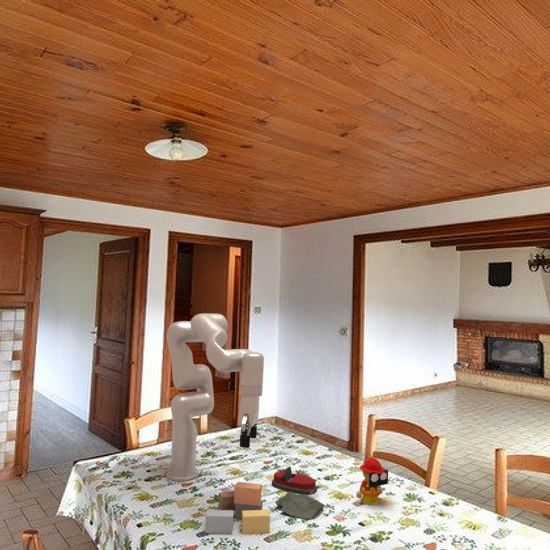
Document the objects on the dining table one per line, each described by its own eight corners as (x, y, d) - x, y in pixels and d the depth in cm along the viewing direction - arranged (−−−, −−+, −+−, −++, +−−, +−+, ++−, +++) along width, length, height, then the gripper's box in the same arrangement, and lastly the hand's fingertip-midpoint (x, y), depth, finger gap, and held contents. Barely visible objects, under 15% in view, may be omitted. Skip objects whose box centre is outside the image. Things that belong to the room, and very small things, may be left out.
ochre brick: (242, 534, 131) (243, 516, 132) (241, 527, 135) (242, 510, 136) (269, 533, 133) (270, 515, 133) (267, 526, 137) (268, 509, 137)
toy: (366, 510, 149) (367, 464, 150) (350, 499, 157) (351, 456, 158) (392, 504, 154) (393, 460, 155) (375, 494, 162) (376, 452, 163)
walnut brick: (221, 513, 144) (222, 497, 144) (218, 508, 148) (219, 492, 148) (245, 509, 147) (245, 494, 148) (241, 504, 151) (241, 489, 151)
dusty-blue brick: (205, 533, 131) (205, 516, 132) (206, 526, 135) (207, 509, 136) (232, 534, 131) (232, 516, 132) (233, 527, 135) (233, 510, 136)
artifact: (269, 512, 147) (310, 525, 139) (269, 500, 147) (310, 512, 139) (289, 496, 158) (328, 507, 151) (289, 485, 159) (328, 495, 151)
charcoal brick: (234, 519, 140) (235, 503, 140) (237, 513, 144) (238, 498, 144) (259, 522, 139) (260, 506, 139) (262, 516, 143) (262, 500, 143)
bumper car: (309, 498, 158) (310, 469, 159) (261, 485, 168) (262, 458, 168) (320, 488, 166) (321, 461, 167) (274, 477, 176) (275, 451, 177)
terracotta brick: (233, 503, 141) (234, 486, 141) (237, 497, 145) (237, 481, 145) (258, 505, 139) (259, 489, 140) (261, 500, 143) (261, 484, 144)
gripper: (246, 384, 157) (243, 433, 156) (233, 394, 140) (230, 449, 139) (267, 386, 156) (264, 435, 155) (256, 396, 139) (253, 452, 138)
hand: (248, 442), depth 147 cm, fingers open, 9 cm apart
